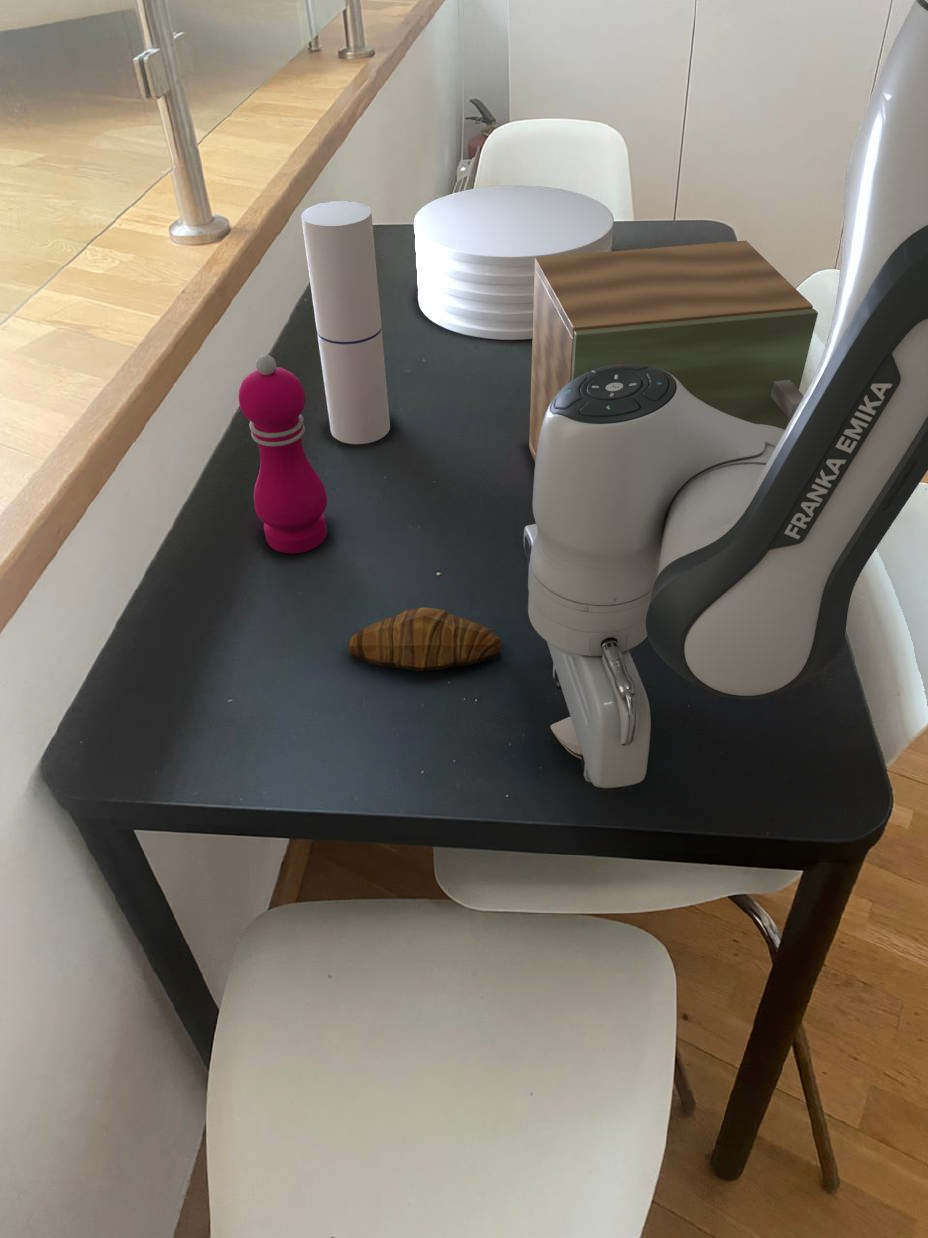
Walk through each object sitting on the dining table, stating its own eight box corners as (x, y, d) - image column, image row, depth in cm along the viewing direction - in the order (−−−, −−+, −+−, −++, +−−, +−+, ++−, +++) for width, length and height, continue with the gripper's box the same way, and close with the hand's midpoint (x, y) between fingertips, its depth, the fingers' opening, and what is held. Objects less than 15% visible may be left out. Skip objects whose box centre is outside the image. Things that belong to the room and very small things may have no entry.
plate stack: (488, 247, 151) (488, 173, 144) (640, 285, 139) (649, 206, 131) (380, 309, 135) (373, 229, 127) (541, 358, 123) (544, 273, 115)
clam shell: (603, 772, 72) (606, 752, 70) (542, 755, 73) (543, 735, 71) (616, 732, 75) (619, 712, 73) (557, 717, 76) (558, 696, 74)
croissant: (345, 685, 79) (339, 644, 76) (354, 631, 84) (348, 590, 81) (502, 684, 79) (503, 643, 76) (501, 630, 84) (501, 589, 81)
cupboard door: (789, 542, 92) (845, 339, 78) (575, 567, 90) (592, 363, 75) (765, 507, 97) (814, 308, 82) (561, 530, 95) (573, 330, 80)
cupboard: (764, 507, 97) (813, 305, 82) (560, 529, 95) (573, 327, 80) (711, 428, 109) (746, 239, 94) (529, 447, 106) (534, 257, 92)
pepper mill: (343, 521, 97) (319, 343, 83) (313, 563, 92) (281, 380, 78) (281, 509, 99) (248, 333, 85) (248, 549, 94) (207, 368, 80)
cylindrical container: (323, 441, 108) (292, 224, 91) (339, 410, 114) (312, 199, 97) (382, 446, 107) (361, 227, 90) (395, 414, 113) (378, 202, 96)
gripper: (686, 700, 56) (657, 831, 65) (599, 505, 71) (586, 635, 80) (585, 713, 55) (571, 843, 65) (519, 513, 70) (515, 643, 80)
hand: (578, 726), depth 73 cm, fingers open, 8 cm apart
